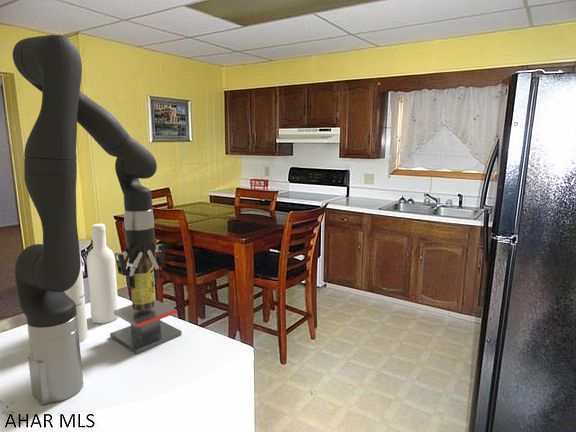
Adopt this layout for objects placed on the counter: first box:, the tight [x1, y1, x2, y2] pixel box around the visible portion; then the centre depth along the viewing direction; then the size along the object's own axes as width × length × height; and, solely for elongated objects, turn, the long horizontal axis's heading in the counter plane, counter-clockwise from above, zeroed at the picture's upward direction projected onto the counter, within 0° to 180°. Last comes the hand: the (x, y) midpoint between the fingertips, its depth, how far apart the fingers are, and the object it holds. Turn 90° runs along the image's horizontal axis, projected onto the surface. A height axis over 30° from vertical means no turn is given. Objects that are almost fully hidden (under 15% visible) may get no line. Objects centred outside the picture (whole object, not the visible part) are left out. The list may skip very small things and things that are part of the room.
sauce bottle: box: [130, 245, 156, 311], centre depth 110 cm, size 6×6×20 cm
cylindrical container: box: [64, 250, 89, 343], centre depth 109 cm, size 7×7×25 cm
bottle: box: [86, 223, 120, 324], centre depth 122 cm, size 8×8×30 cm
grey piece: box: [109, 299, 183, 355], centre depth 113 cm, size 14×14×8 cm
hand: (142, 284), depth 110 cm, fingers closed on sauce bottle, 6 cm apart
